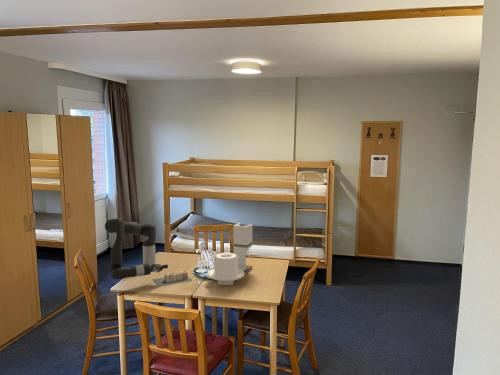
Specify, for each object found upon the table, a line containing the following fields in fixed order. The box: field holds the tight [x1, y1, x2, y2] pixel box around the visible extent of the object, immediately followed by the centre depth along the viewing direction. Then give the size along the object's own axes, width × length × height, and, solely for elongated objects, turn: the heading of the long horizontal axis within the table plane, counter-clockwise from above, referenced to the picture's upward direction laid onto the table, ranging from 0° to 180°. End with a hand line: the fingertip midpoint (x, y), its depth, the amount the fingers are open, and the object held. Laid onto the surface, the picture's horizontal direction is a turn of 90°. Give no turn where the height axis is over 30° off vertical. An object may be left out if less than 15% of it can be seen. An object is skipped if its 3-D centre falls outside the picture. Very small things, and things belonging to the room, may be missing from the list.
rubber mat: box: [152, 276, 193, 288], centre depth 276 cm, size 16×24×1 cm, turn 119°
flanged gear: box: [207, 252, 245, 286], centre depth 273 cm, size 25×25×19 cm
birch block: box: [164, 270, 189, 282], centre depth 277 cm, size 4×4×15 cm
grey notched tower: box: [232, 222, 253, 274], centre depth 297 cm, size 11×11×35 cm
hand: (167, 266), depth 273 cm, fingers closed
